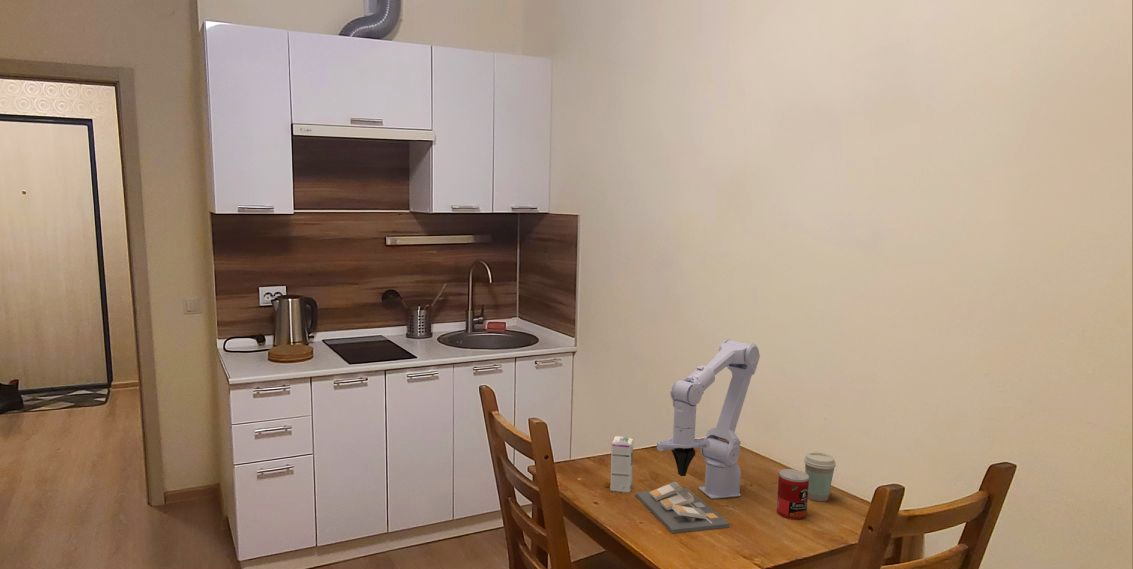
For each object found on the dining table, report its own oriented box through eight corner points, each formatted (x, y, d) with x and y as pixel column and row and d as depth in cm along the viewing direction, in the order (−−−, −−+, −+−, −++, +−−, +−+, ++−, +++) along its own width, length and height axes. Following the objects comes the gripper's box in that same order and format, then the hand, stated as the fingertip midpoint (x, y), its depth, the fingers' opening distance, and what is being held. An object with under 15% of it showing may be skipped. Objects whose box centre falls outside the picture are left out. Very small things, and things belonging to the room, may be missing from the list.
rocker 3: (698, 512, 190) (699, 508, 190) (706, 518, 186) (707, 514, 186) (672, 508, 187) (673, 504, 187) (678, 514, 184) (680, 510, 184)
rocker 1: (676, 484, 203) (675, 480, 203) (682, 490, 199) (681, 486, 199) (650, 495, 201) (649, 491, 201) (656, 500, 197) (655, 497, 197)
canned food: (791, 521, 190) (794, 481, 188) (769, 510, 197) (772, 471, 195) (812, 517, 193) (815, 477, 192) (790, 505, 200) (793, 467, 199)
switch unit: (687, 491, 208) (687, 484, 207) (729, 527, 185) (729, 519, 185) (635, 495, 203) (635, 488, 203) (672, 533, 180) (672, 525, 180)
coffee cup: (837, 497, 207) (841, 457, 206) (825, 506, 201) (828, 464, 199) (809, 489, 213) (812, 449, 211) (796, 497, 206) (799, 456, 205)
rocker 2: (687, 495, 196) (686, 491, 196) (694, 501, 193) (693, 497, 192) (660, 504, 194) (660, 500, 194) (667, 510, 190) (666, 506, 190)
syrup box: (629, 493, 205) (632, 443, 203) (609, 490, 206) (611, 441, 204) (632, 485, 210) (634, 437, 209) (612, 483, 211) (614, 435, 210)
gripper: (702, 419, 199) (699, 467, 201) (653, 422, 195) (651, 471, 197) (714, 427, 192) (711, 477, 194) (663, 430, 188) (661, 480, 190)
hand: (681, 474), depth 195 cm, fingers closed
